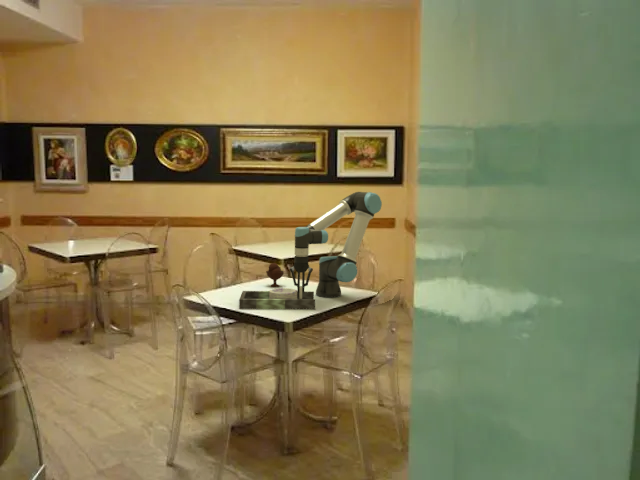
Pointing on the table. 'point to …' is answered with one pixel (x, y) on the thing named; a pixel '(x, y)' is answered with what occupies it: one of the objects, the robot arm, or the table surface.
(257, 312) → the table surface
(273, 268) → the ice cream bowl
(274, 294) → the paper bowls
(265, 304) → the shallow tray
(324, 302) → the table surface
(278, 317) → the table surface
